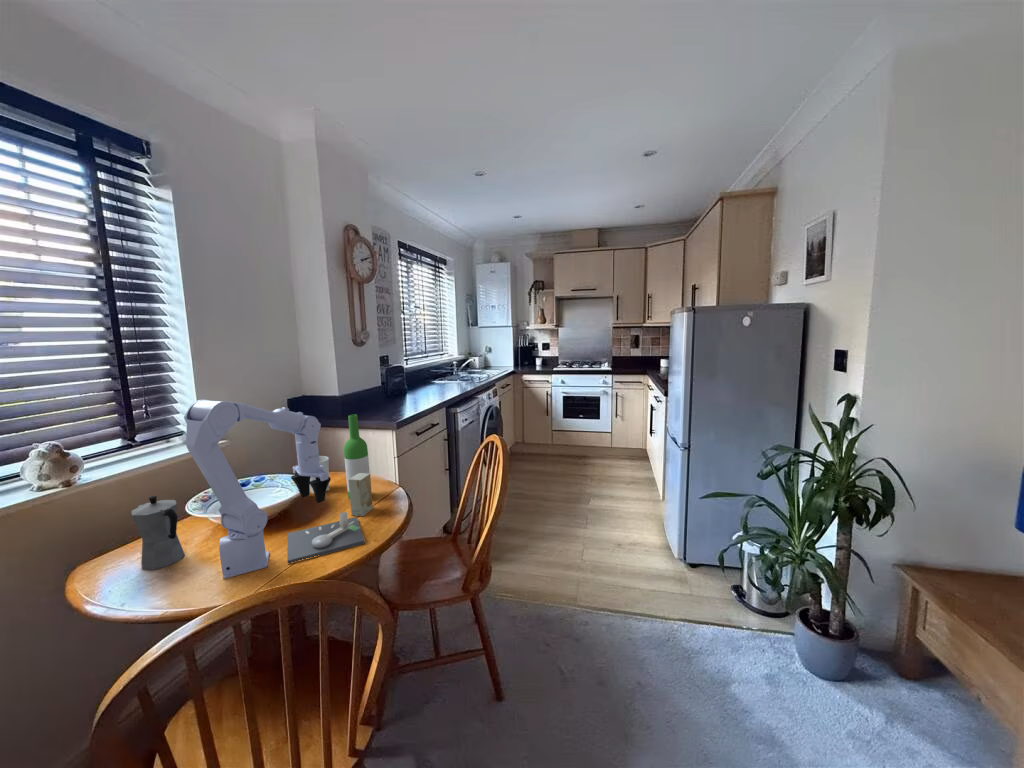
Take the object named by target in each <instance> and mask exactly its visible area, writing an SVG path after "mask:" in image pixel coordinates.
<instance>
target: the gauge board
mask: <svg viewBox="0 0 1024 768" xmlns="http://www.w3.org/2000/svg"><path fill="white" fill-rule="evenodd" d="M353 521H354V523H353V524H351V525H349V529H347V530H345V531H343V532H342V533H340V534H338V535H336V536H335V537H333V538H332V543H331V544H330V545H328V546H326V547H323V548H314V547H313V546H312V540H313V539H314V538H315V537H317V536H320V535H325V534H329V533H331V532H333V531H334V530H336V529H338V528H340V521H339V520H337V521H334V522H329V523H325V524H320V525H316V526H313V527H308V528H305V529H300V530H296V531H292V532H288V533H287V552H286V553H287V556H286V558H287V564H288V563H291V562H295V561H298V560H302V559H306V558H310V557H313V558H315V557H314V556H317V557H319V556H318V555H321V556H324V555H327V553H328V554H330V553H332V554H333V553H335V552H339V551H342V550H346V549H350V548H353V547H357V546H360V545H364V544H366V540H365V537H364V534H363V531H362V528H361V526H360V524H359V521H358V516H355V517H351V518H348V524H349V523H351V522H353ZM323 554H324V555H323ZM310 559H311V558H310ZM306 560H307V559H306ZM302 561H303V560H302ZM298 562H299V561H298ZM295 563H296V562H295ZM291 564H292V563H291Z"/></svg>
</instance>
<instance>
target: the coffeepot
mask: <svg viewBox="0 0 1024 768" xmlns="http://www.w3.org/2000/svg"><path fill="white" fill-rule="evenodd" d="M148 500H149V502H145V503H142V504H140V505H137V508H134V509H132V510H131V516H132V517H131V518H132V520H133V522H134V523H135V524H134V525H135V526H136V529H137V531H138V534H139V536H140V538H141V540H142V542H141V559H140V560H141V563H140V565H141V570H145V571H154V570H159V569H162V568H166V567H168V566H171V565H174V564H175V563H178V562H179V561H180V560H181V559H182V558H183V557H184V556H185V552H184V548H183V547H182V544H181V542H180V539H179V536H178V533H177V530H178V529H177V528H178V527H177V526H178V514H177V508H178V507H177V501H176V499H162V500H157V495H151V496H149V497H148Z"/></svg>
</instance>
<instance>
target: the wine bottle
mask: <svg viewBox="0 0 1024 768" xmlns="http://www.w3.org/2000/svg"><path fill="white" fill-rule="evenodd" d="M358 419H359V418H358V414H356V413H355V414H354V413H353V414H349V415H348V419H347V420H348V428H349V429H348V430H349V431H348V432H349V439H347V441H346V442H345V443H344V446H343V456H344V466H345V478H346V489H347V497H348V500H350V491H349V479H350V478H352V477H353V476H355V475H357V474H358V473H367V474H370V475H371V472H370V463H369V462H370V461H369V452H368V451H369V450H368V444H367V442H366V441H365V439H363V438H362V437H360V430H359V429H360V428H359V420H358Z"/></svg>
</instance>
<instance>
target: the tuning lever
mask: <svg viewBox="0 0 1024 768" xmlns="http://www.w3.org/2000/svg"><path fill="white" fill-rule="evenodd" d="M338 519H339V520H338V521H340V528H338V529H336V530H334V531H333V532H331V533H329V534H325V535H320V536H317V537H315V538H314V539H313V540H312V546H313V547H314V548H323V547H326V546H328V545H330V544H331V543H332V538H333V537H335V536H336V535H338V534H340V533H342V532H343V531H345V530H347V529H349V525H351V524H353V523H354V521H353V522H351V523H349V524H348V519H349V517H348V512H347V511H343V512H340V513H339V514H338Z"/></svg>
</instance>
